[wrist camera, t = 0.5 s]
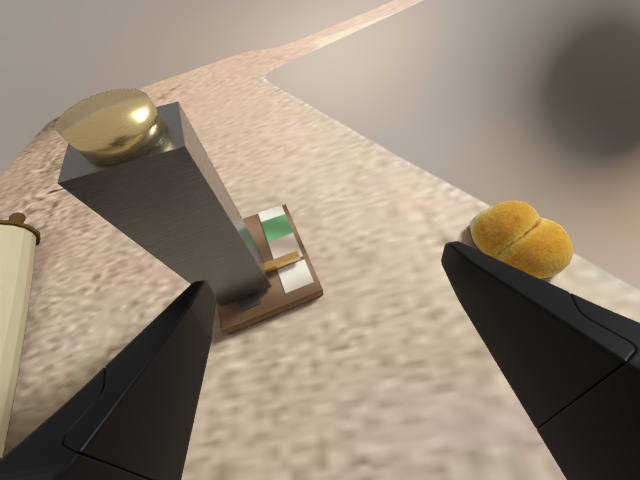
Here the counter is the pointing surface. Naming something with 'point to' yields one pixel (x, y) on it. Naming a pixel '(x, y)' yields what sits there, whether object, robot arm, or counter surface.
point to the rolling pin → (13, 306)
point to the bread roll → (522, 239)
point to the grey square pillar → (161, 190)
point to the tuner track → (274, 272)
